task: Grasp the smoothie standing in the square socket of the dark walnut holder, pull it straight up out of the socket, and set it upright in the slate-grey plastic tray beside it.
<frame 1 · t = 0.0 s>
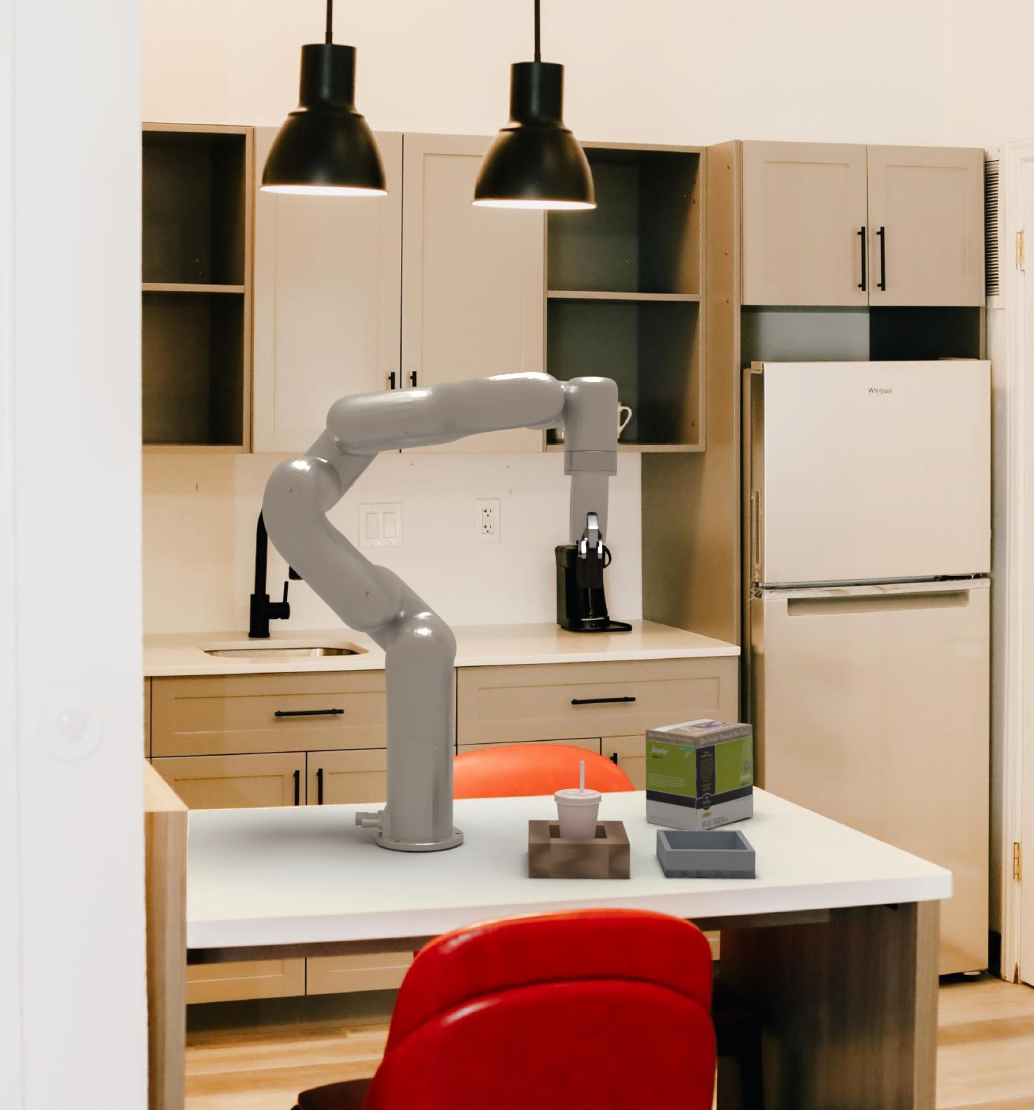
hand: (589, 586, 191), 37 cm above the table, tool pointing down, fingers open, 9 cm apart
tray: (704, 866, 180), on the table
smoothie: (577, 866, 180), resting in socket holder
tea box: (699, 821, 207), on the table
socket holder: (577, 865, 180), on the table
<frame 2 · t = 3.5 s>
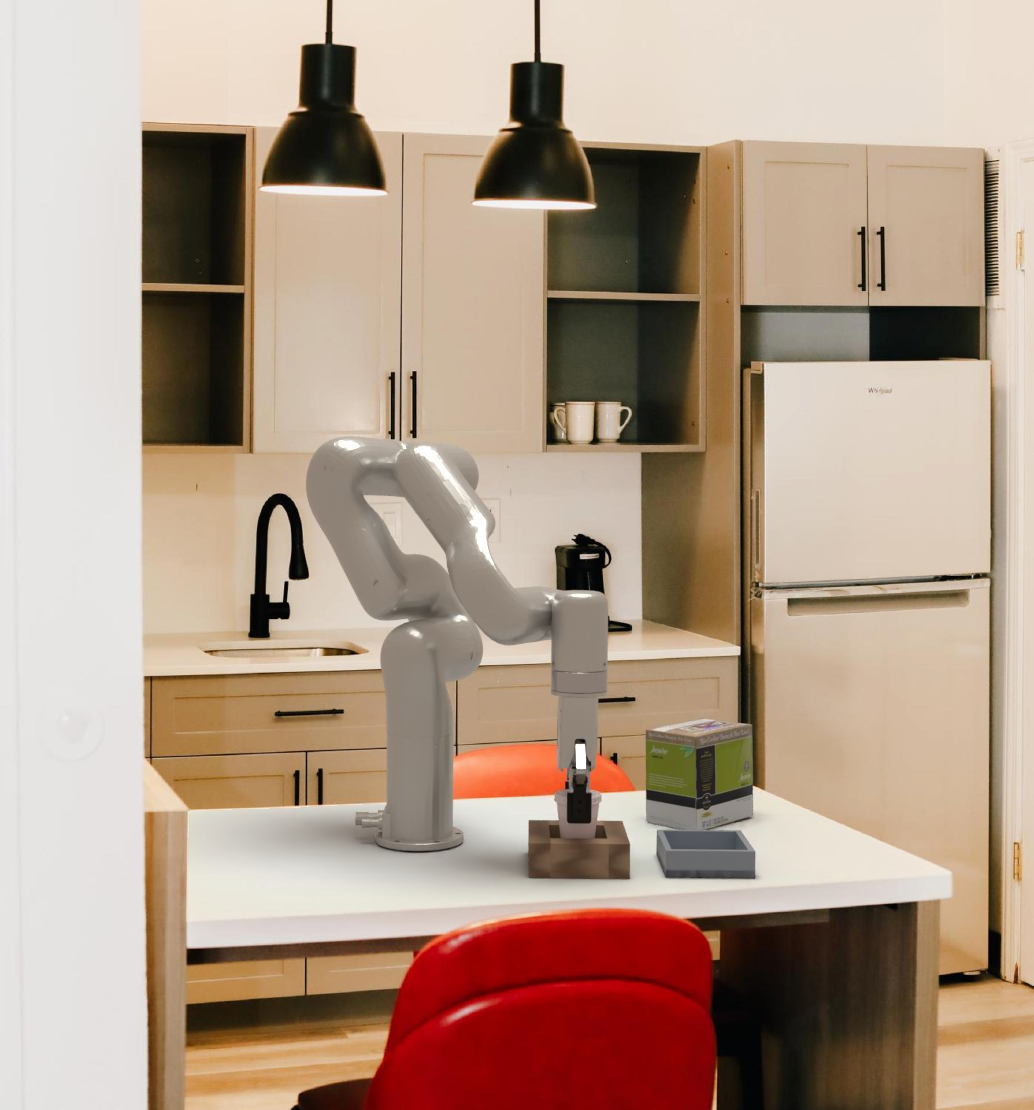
hand: (577, 815, 180), 7 cm above the table, tool pointing down, fingers closed on smoothie, 6 cm apart
smoothie: (577, 866, 180), resting in socket holder, touching gripper
everything else where it was.
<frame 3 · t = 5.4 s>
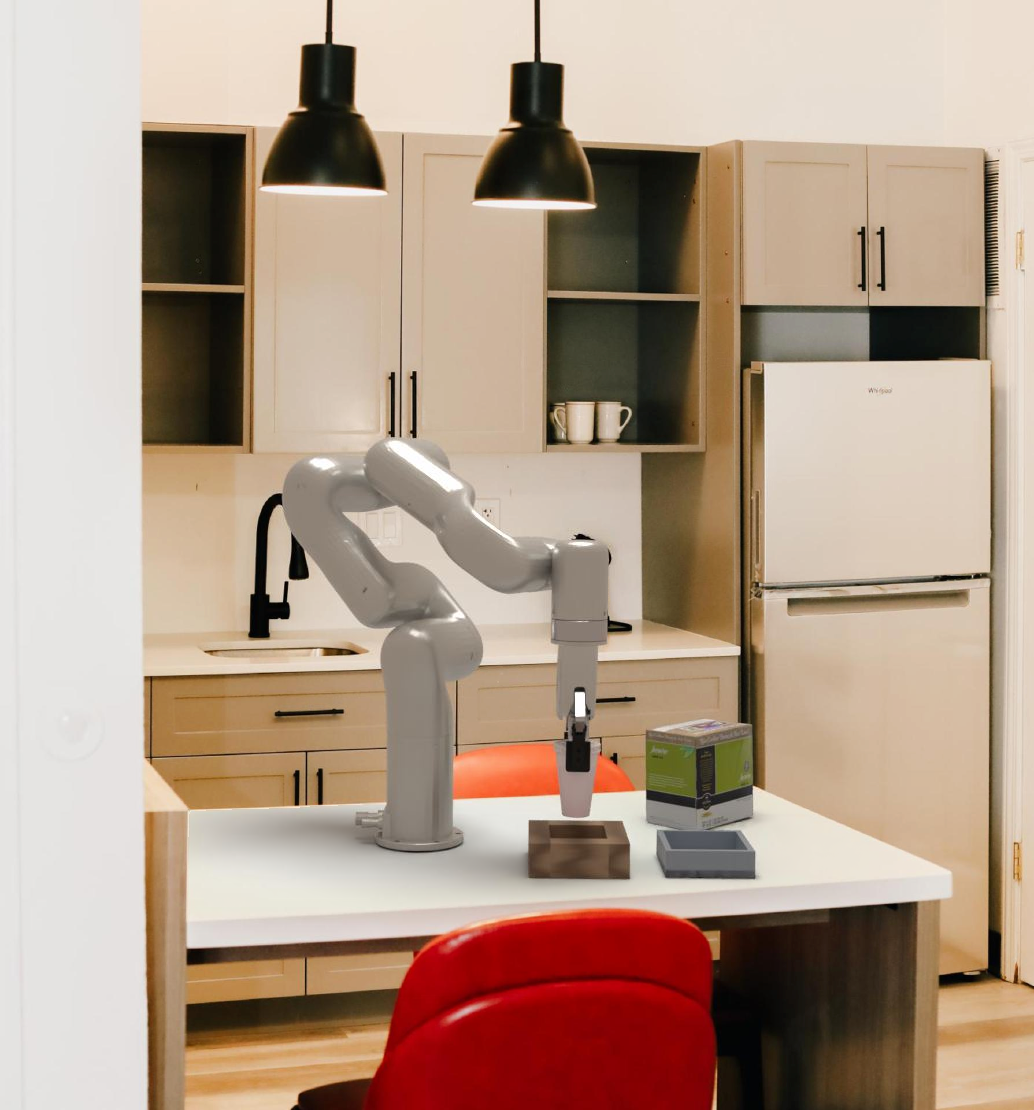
hand: (576, 765, 180), 13 cm above the table, tool pointing down, fingers closed on smoothie, 6 cm apart
smoothie: (575, 816, 180), point 7 cm above the table, touching gripper
everything else where it was.
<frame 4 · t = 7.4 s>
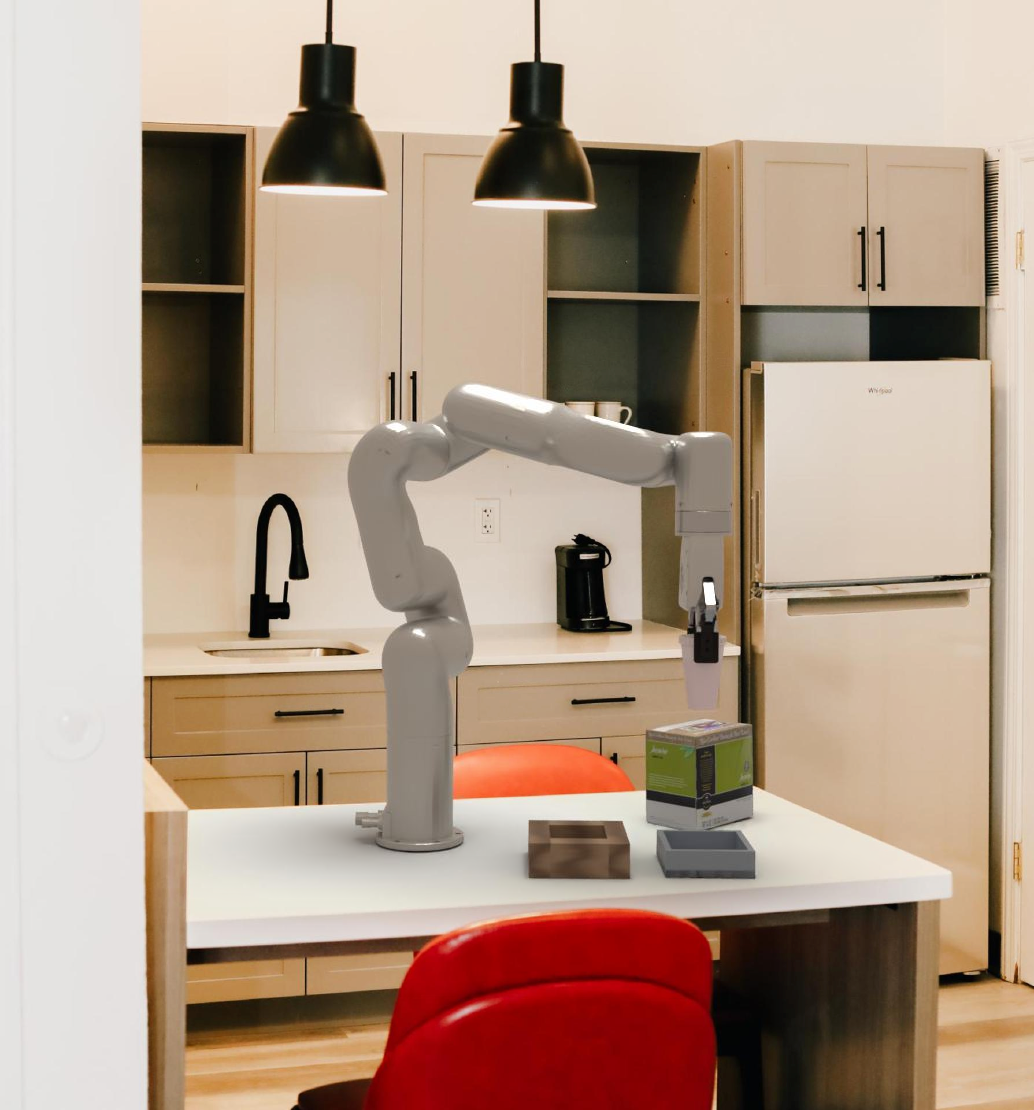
hand: (702, 658, 179), 28 cm above the table, tool pointing down, fingers closed on smoothie, 6 cm apart
smoothie: (702, 709, 179), point 21 cm above the table, touching gripper
everything else where it was.
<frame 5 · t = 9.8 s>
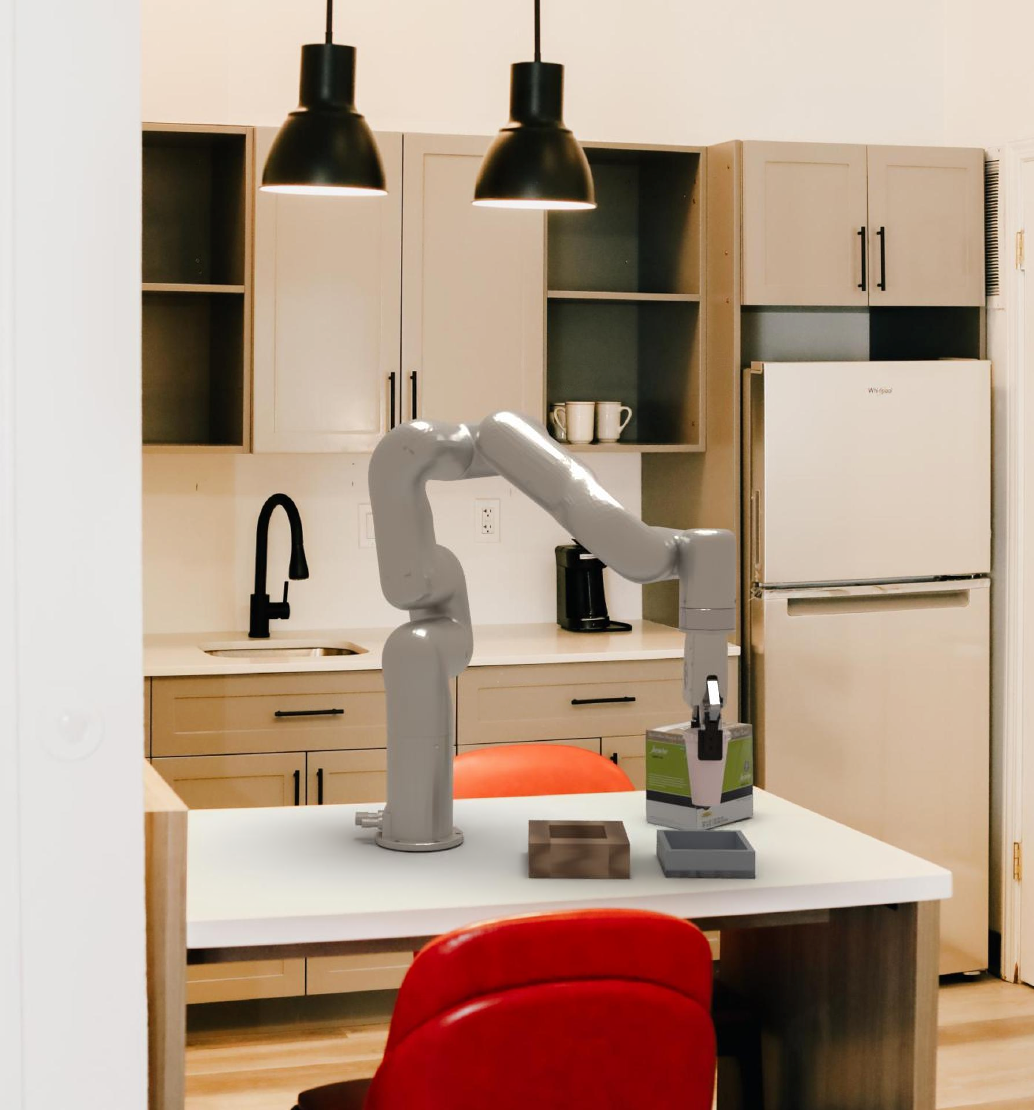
hand: (706, 754, 180), 15 cm above the table, tool pointing down, fingers closed on smoothie, 6 cm apart
smoothie: (705, 804, 180), point 8 cm above the table, touching gripper
everything else where it was.
when the fingers open (8 cm above the table, at t = 11.7 s): smoothie stays where it is, resting on tray.
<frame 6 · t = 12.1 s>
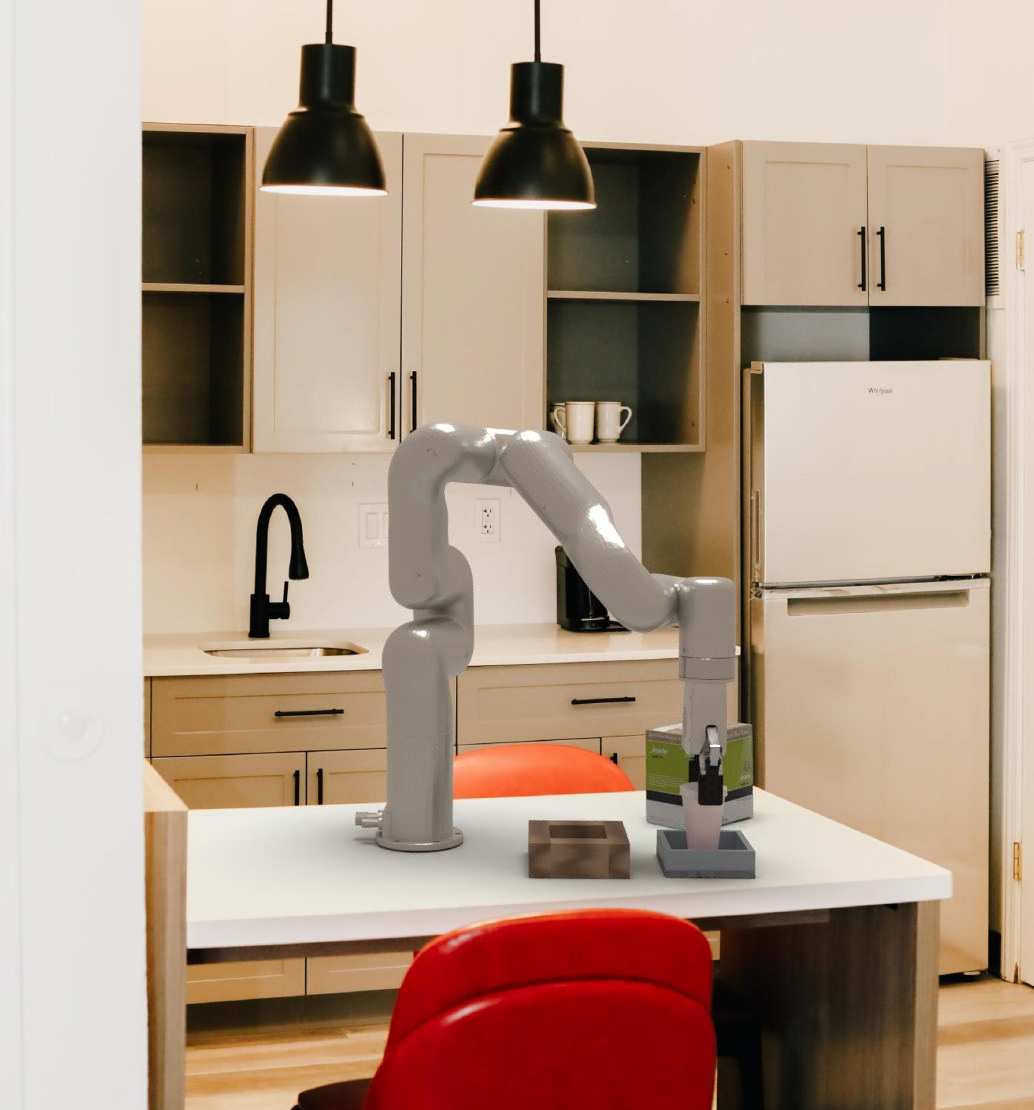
hand: (705, 797, 180), 9 cm above the table, tool pointing down, fingers open, 9 cm apart
smoothie: (702, 859, 180), point 1 cm above the table, touching tray
everything else where it was.
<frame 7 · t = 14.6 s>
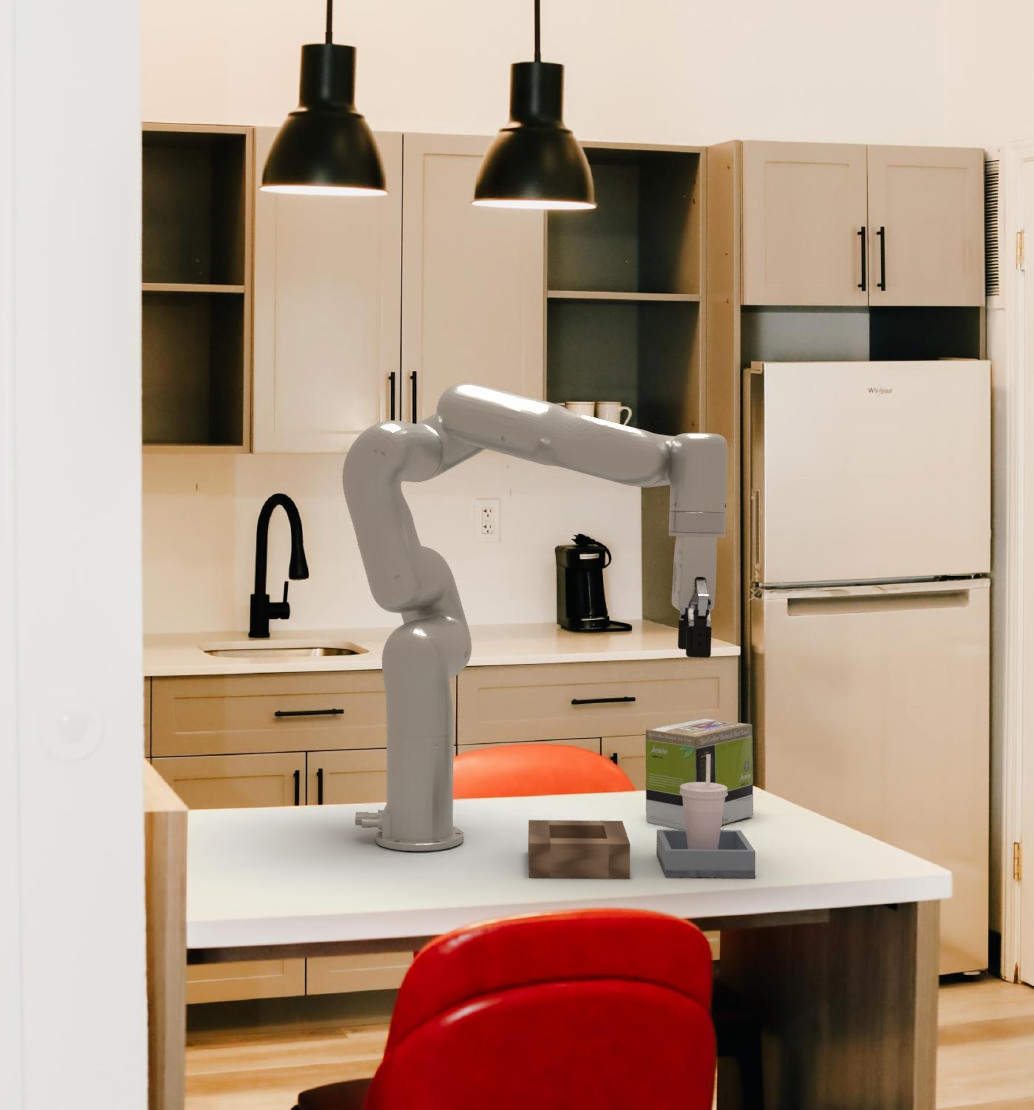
hand: (693, 653, 181), 28 cm above the table, tool pointing down, fingers open, 9 cm apart
nothing on the table moved.
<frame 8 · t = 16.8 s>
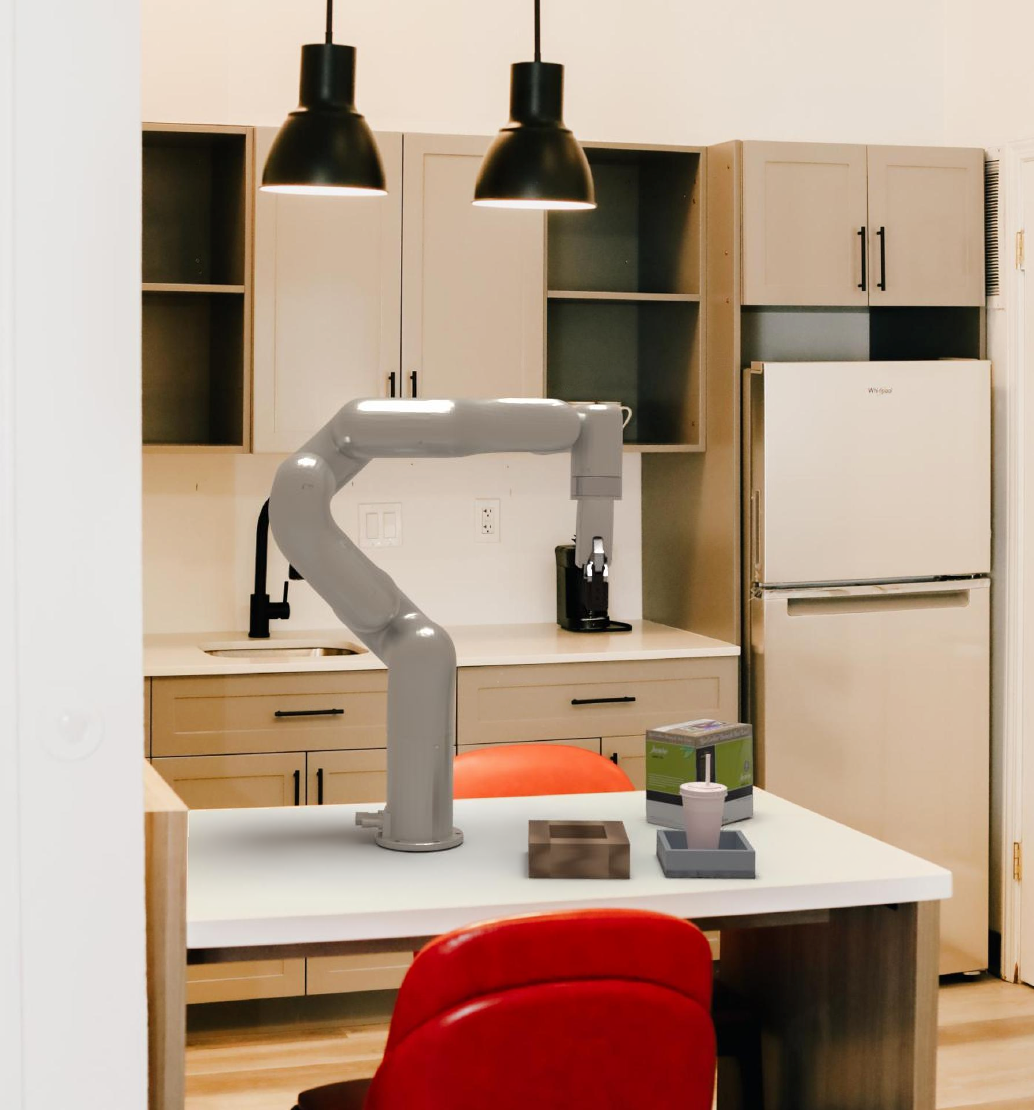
hand: (594, 607, 196), 33 cm above the table, tool pointing down, fingers open, 9 cm apart
nothing on the table moved.
at the end: smoothie 0.3 cm off-centre on the tray, point 0.8 cm above the tray's base; smoothie tilted 0°; the gripper is holding nothing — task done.
